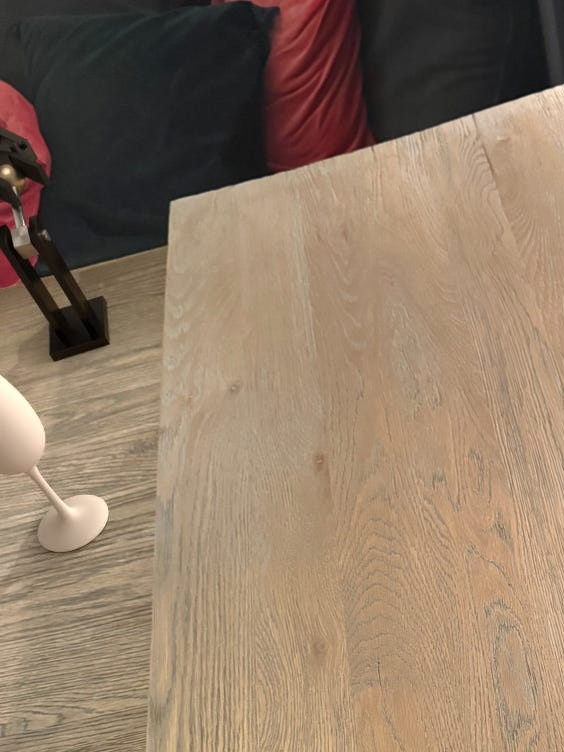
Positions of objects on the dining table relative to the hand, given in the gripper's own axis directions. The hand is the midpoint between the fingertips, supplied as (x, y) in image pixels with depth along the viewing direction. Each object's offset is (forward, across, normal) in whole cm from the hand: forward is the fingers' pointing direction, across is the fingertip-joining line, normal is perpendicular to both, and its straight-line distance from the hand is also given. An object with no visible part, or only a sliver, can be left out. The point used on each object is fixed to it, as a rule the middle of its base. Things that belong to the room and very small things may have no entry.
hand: (29, 185), depth 120 cm
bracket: (+2, +5, -18) cm, 19 cm away
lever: (-2, +2, -4) cm, 5 cm away
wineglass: (+32, +28, -18) cm, 46 cm away
